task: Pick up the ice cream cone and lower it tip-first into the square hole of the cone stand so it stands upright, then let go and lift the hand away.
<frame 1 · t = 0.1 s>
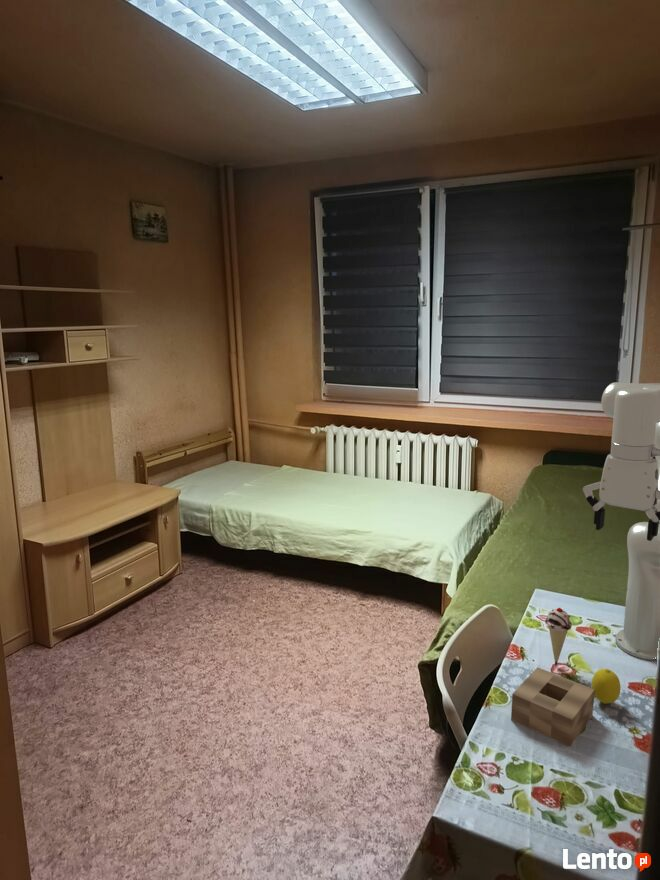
hand: (624, 533, 122), 37 cm above the table, tool pointing down, fingers open, 9 cm apart
cone stand: (551, 717, 123), on the table
ice cream cone: (555, 667, 140), on the table
lemon: (604, 704, 127), on the table
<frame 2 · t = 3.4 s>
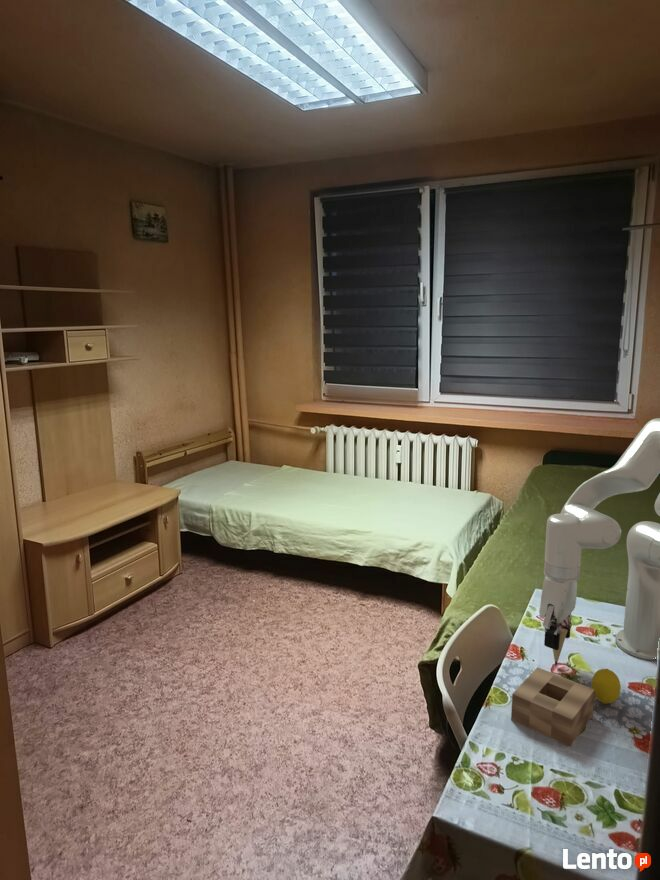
hand: (557, 641, 139), 7 cm above the table, tool pointing down, fingers closed on ice cream cone, 5 cm apart
ice cream cone: (555, 667, 140), on the table, touching gripper
everything else where it was.
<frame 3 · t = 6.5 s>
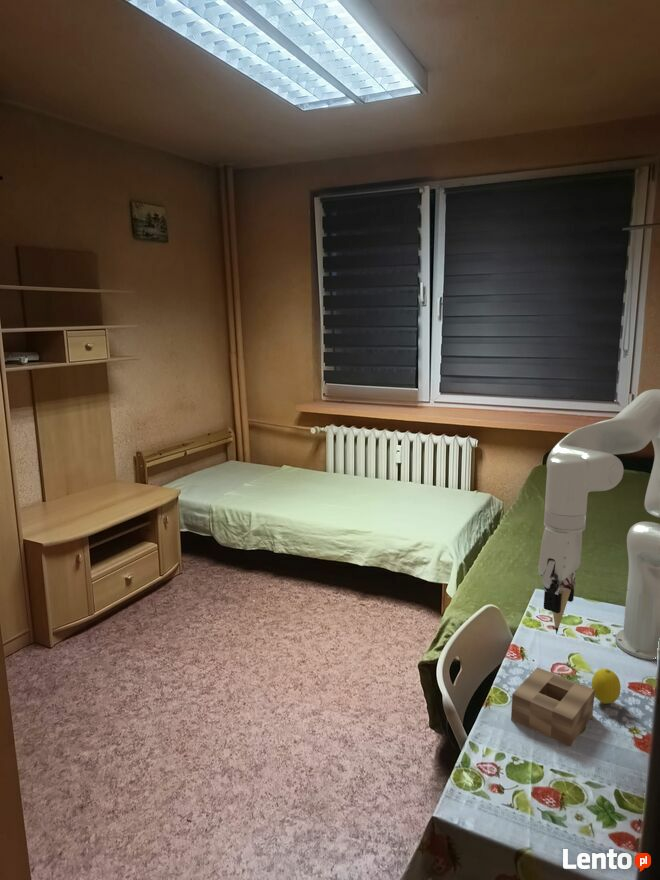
hand: (558, 604, 120), 24 cm above the table, tool pointing down, fingers closed on ice cream cone, 5 cm apart
ice cream cone: (556, 634, 122), point 17 cm above the table, touching gripper
everything else where it was.
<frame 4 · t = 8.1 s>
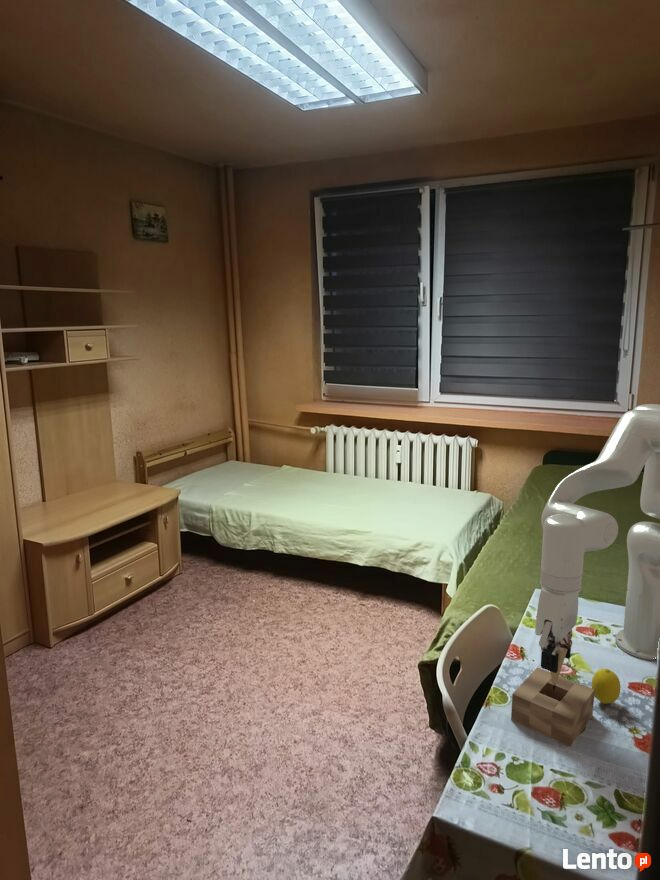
hand: (555, 661, 120), 13 cm above the table, tool pointing down, fingers closed on ice cream cone, 5 cm apart
ice cream cone: (553, 691, 122), point 6 cm above the table, touching gripper
everything else where it was.
when the fingers open (8 cm above the table, at t = 9.5 s): ice cream cone drops 1 cm, resting in cone stand.
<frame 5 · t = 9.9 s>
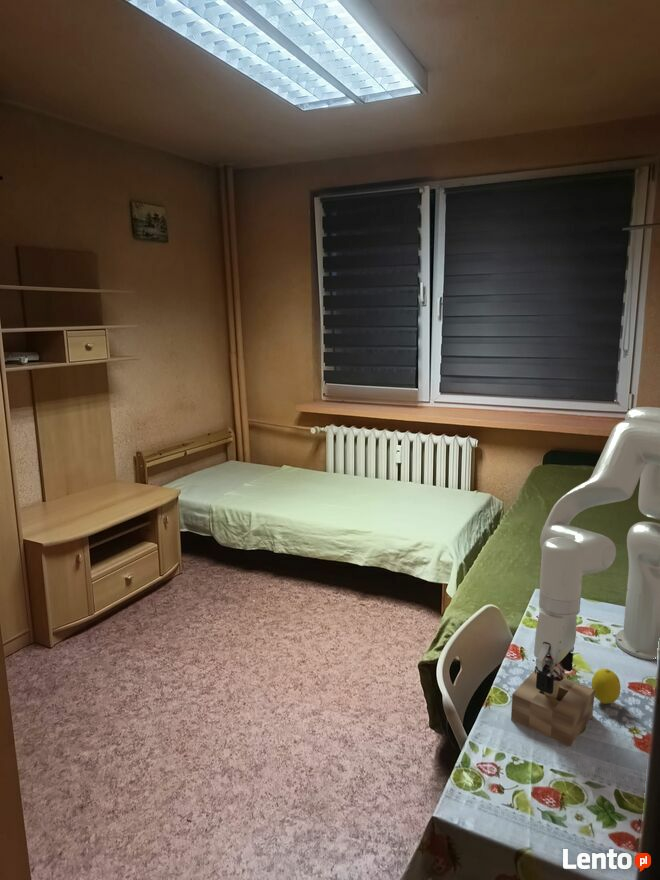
hand: (554, 679, 121), 9 cm above the table, tool pointing down, fingers open, 9 cm apart
ice cream cone: (551, 717, 123), resting in cone stand, touching gripper
everything else where it was.
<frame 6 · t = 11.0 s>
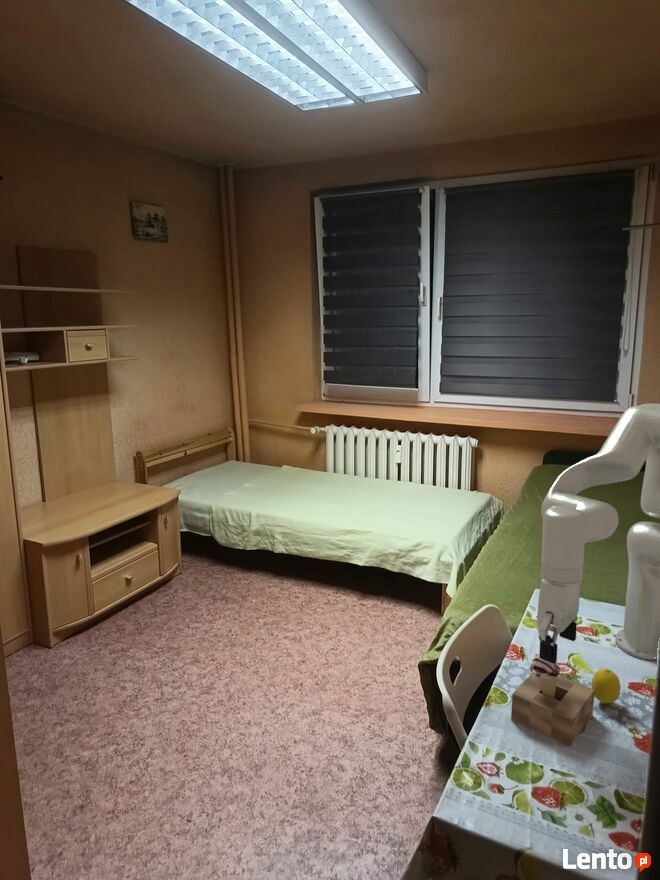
hand: (557, 649, 120), 15 cm above the table, tool pointing down, fingers open, 9 cm apart
ice cream cone: (551, 718, 123), resting in cone stand
everything else where it was.
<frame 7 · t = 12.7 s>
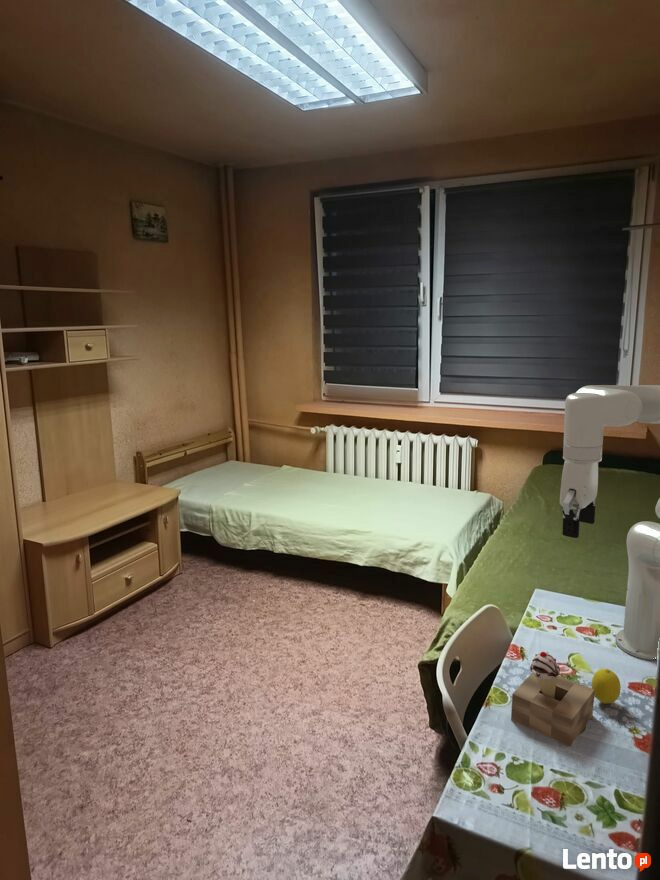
hand: (578, 529, 129), 35 cm above the table, tool pointing down, fingers open, 9 cm apart
nothing on the table moved.
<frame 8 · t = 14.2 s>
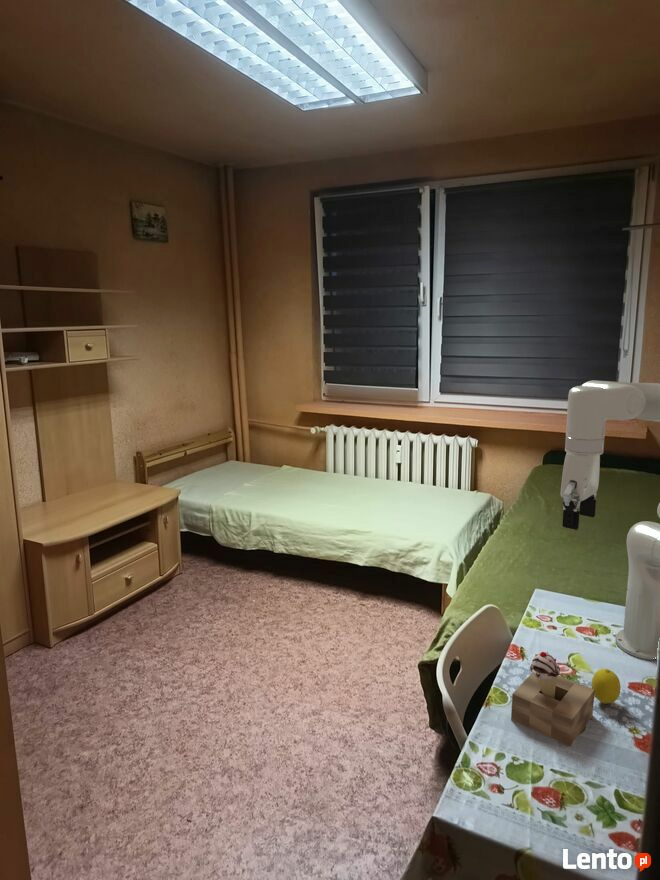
hand: (578, 521, 130), 36 cm above the table, tool pointing down, fingers open, 9 cm apart
nothing on the table moved.
at the end: ice cream cone 0.1 cm off-centre on the cone stand, point 0.0 cm above the cone stand's base; ice cream cone tilted 10°; the gripper is holding nothing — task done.
